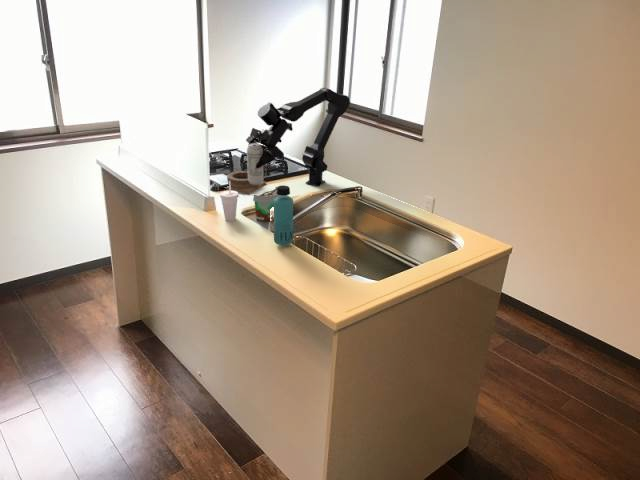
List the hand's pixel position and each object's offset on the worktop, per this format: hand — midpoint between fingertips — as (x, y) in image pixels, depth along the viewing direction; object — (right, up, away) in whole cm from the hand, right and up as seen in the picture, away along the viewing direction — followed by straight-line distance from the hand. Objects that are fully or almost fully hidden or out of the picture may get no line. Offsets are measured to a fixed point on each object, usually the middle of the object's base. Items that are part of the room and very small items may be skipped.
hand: (252, 165), depth 202 cm
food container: (+9, -21, -12) cm, 26 cm away
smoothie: (-6, -21, -13) cm, 25 cm away
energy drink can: (+1, -6, +4) cm, 7 cm away
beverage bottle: (+14, -30, -31) cm, 45 cm away
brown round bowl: (-6, -6, +18) cm, 20 cm away
